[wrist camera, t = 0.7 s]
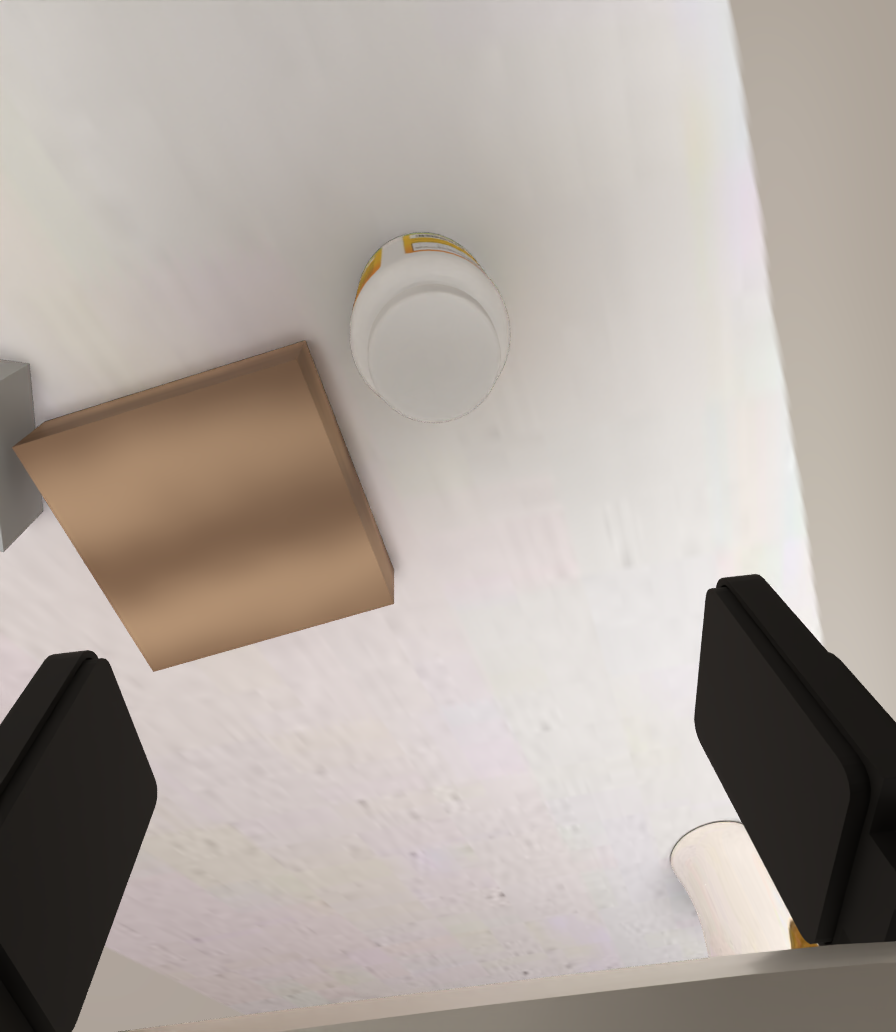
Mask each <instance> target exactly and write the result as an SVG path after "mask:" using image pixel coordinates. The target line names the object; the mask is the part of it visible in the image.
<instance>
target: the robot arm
mask: <svg viewBox="0 0 896 1032" xmlns="http://www.w3.org/2000/svg"><path fill="white" fill-rule="evenodd" d="M694 722H695V729H696V733H697V736H698V739H699V741H700V743H701V745H702V747H703V749H704V751H705V753H706V755H707V757H708V759H709V760H710V762H711V764H712V766H713V768H714V770H715V772H716V774H717V776H718V778H719V780H720V782H721V783H722V785H723V787H724V789H725V791H726V793H727V795H728V797H729V799H730V801H731V803H732V804H733V806H734V808H735V810H736V812H737V814H738V816H739V818H740V820H741V822H742V824H743V826H744V827H745V829H746V831H747V833H748V835H749V837H750V839H751V841H752V843H753V845H754V847H755V848H756V850H757V852H758V854H759V856H760V858H761V860H762V862H763V864H764V866H765V868H766V869H767V871H768V873H769V875H770V877H771V879H772V881H773V883H774V885H775V887H776V889H777V891H778V892H779V894H780V896H781V898H782V900H783V902H784V904H785V906H786V908H787V910H788V912H789V913H790V915H791V917H792V919H793V921H794V923H795V925H796V927H797V929H798V931H799V932H800V934H801V936H802V937H803V938H804V940H805V941H806V942H807V943H809V944H816V943H818V945H819V946H817V947H807V948H797V949H788V950H778V951H768V952H758V953H748V954H738V955H728V956H719V957H710V958H701V959H693V960H685V961H676V962H668V963H660V964H651V965H643V966H635V967H626V968H618V969H610V970H601V971H593V972H585V973H576V974H568V975H560V976H551V977H543V978H534V979H526V980H518V981H510V982H502V983H494V984H486V985H478V986H470V987H462V988H454V989H446V990H438V991H430V992H422V993H414V994H406V995H398V996H390V997H382V998H374V999H366V1000H358V1001H351V1002H343V1003H335V1004H327V1005H319V1006H311V1007H303V1008H295V1009H287V1010H280V1011H272V1012H265V1013H257V1014H249V1015H242V1016H234V1017H227V1018H219V1019H211V1020H204V1021H196V1022H189V1023H181V1024H174V1025H166V1026H158V1027H150V1028H143V1029H135V1030H128V1031H120V1032H896V722H895V721H894V720H893V719H892V718H891V717H890V715H889V714H888V713H887V712H886V711H885V710H884V709H883V707H882V706H881V705H880V704H879V703H878V702H877V701H876V700H875V698H874V697H873V696H872V695H871V694H870V693H869V692H868V691H867V689H866V688H865V687H864V686H863V685H862V684H861V683H860V682H859V680H858V679H857V678H856V677H855V676H854V675H853V674H852V673H851V671H850V670H849V669H848V668H847V667H846V666H845V665H844V663H843V662H842V661H841V660H840V659H839V658H837V657H836V656H835V655H834V654H832V653H829V652H828V651H827V650H826V649H825V648H824V647H823V646H822V645H821V643H820V642H819V641H818V640H817V639H816V638H815V637H814V635H813V634H812V633H811V632H810V631H809V630H808V629H807V627H806V626H805V625H804V624H803V623H802V622H801V621H800V619H799V618H798V617H797V616H796V615H795V614H794V613H793V611H792V610H791V609H790V608H789V607H788V606H787V605H786V603H785V602H784V601H783V600H782V599H781V598H780V597H779V595H778V594H777V593H776V592H775V591H774V590H773V589H772V587H771V586H770V585H769V584H768V583H767V582H766V581H765V579H764V578H763V577H761V576H760V575H757V574H752V575H743V576H735V577H726V578H721V579H719V581H718V583H717V586H716V588H711V589H709V590H708V591H707V593H706V600H705V610H704V621H703V631H702V642H701V652H700V663H699V673H698V684H697V694H696V705H695V715H694ZM156 801H157V784H156V781H155V778H154V775H153V773H152V770H151V768H150V765H149V762H148V760H147V757H146V755H145V752H144V750H143V747H142V745H141V742H140V739H139V737H138V734H137V732H136V729H135V727H134V724H133V722H132V719H131V717H130V714H129V711H128V709H127V706H126V704H125V701H124V699H123V696H122V694H121V691H120V689H119V686H118V683H117V681H116V678H115V676H114V673H113V671H112V668H111V666H110V664H109V662H108V661H107V660H106V659H104V658H100V659H98V657H97V655H96V654H95V653H94V652H93V651H89V650H87V651H78V652H69V653H61V654H53V655H50V656H48V657H47V658H46V659H45V661H44V662H43V663H42V665H41V666H40V668H39V669H38V671H37V672H36V674H35V675H34V677H33V678H32V679H31V681H30V682H29V684H28V685H27V687H26V688H25V690H24V691H23V692H22V694H21V695H20V697H19V698H18V700H17V701H16V703H15V704H14V706H13V707H12V708H11V710H10V711H9V713H8V714H7V716H6V717H5V719H4V720H3V721H2V723H1V724H0V1032H72V1030H73V1029H74V1027H75V1024H76V1022H77V1020H78V1017H79V1014H80V1011H81V1009H82V1005H83V1003H84V1000H85V998H86V995H87V992H88V989H89V987H90V984H91V981H92V978H93V975H94V973H95V970H96V967H97V965H98V962H99V959H100V956H101V954H102V951H103V948H104V946H105V943H106V940H107V937H108V935H109V932H110V929H111V926H112V924H113V921H114V918H115V915H116V913H117V910H118V907H119V904H120V902H121V899H122V896H123V893H124V891H125V888H126V885H127V882H128V880H129V877H130V874H131V871H132V869H133V866H134V863H135V861H136V858H137V855H138V852H139V850H140V847H141V844H142V841H143V839H144V836H145V833H146V830H147V828H148V825H149V822H150V819H151V817H152V814H153V811H154V808H155V805H156Z"/></svg>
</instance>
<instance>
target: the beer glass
mask: <svg viewBox="0 0 896 1032" xmlns="http://www.w3.org/2000/svg"><path fill="white" fill-rule="evenodd" d="M671 866H672V869H673V871H674V873H675V875H676V876H677V878H678V879H679V881H680V882H681V884H682V885H683V887H684V889H685V890H686V892H687V893H688V895H689V897H690V899H691V901H692V903H693V905H694V907H695V910H696V912H697V915H698V918H699V921H700V924H701V927H702V931H703V935H704V939H705V943H706V948H707V952H708V957H709V958H710V957H719V956H728V955H738V954H748V953H758V952H768V951H778V950H788V949H797V948H807V947H817V946H819V945H818V943H816V944H809V943H807V942H806V941H805V940H804V938H803V937H802V936H801V934H800V932H799V931H798V929H797V927H796V925H795V923H794V921H793V919H792V917H791V915H790V913H789V912H788V910H787V908H786V906H785V904H784V902H783V900H782V898H781V896H780V894H779V892H778V891H777V889H776V887H775V885H774V883H773V881H772V879H771V877H770V875H769V873H768V871H767V869H766V868H765V866H764V864H763V862H762V860H761V858H760V856H759V854H758V852H757V850H756V848H755V847H754V845H753V843H752V841H751V839H750V837H749V835H748V833H747V831H746V829H745V827H744V826H743V824H740V823H736V822H716V823H711V824H707V825H704V826H701V827H699V828H697V829H695V830H693V831H691V832H690V833H688V834H687V835H685V836H684V837H683V838H682V839H681V840H680V841H679V842H678V843H677V845H676V846H675V848H674V849H673V852H672V854H671Z"/></svg>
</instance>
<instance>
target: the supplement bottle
mask: <svg viewBox="0 0 896 1032" xmlns="http://www.w3.org/2000/svg"><path fill="white" fill-rule="evenodd" d="M350 345H351V351H352V355H353V358H354V362H355V364H356V367H357V369H358V371H359V373H360V375H361V376H362V378H363V379H364V381H365V382H366V383H367V385H368V386H369V387H370V388H371V389H372V390H373V391H374V392H375V393H376V394H377V395H378V396H379V397H381V398H382V399H383V400H384V401H385V402H386V403H387V404H388V405H389V406H390V407H391V408H392V409H394V410H395V411H397V412H398V413H400V414H402V415H403V416H406V417H408V418H410V419H413V420H417V421H421V422H429V423H440V422H447V421H451V420H454V419H457V418H460V417H462V416H464V415H466V414H468V413H469V412H471V411H472V410H474V409H475V408H476V407H478V406H479V405H480V404H481V403H482V402H483V401H484V399H485V398H486V397H487V396H488V394H489V393H490V391H491V390H492V388H493V386H494V384H495V382H496V380H497V378H498V377H499V375H500V373H501V371H502V369H503V367H504V365H505V362H506V359H507V356H508V351H509V345H510V323H509V318H508V314H507V310H506V307H505V304H504V302H503V299H502V297H501V295H500V293H499V291H498V289H497V288H496V287H495V285H494V284H493V282H492V281H491V280H490V278H489V277H488V276H487V275H486V273H485V272H484V271H483V269H482V268H481V267H480V266H479V264H478V263H477V262H476V260H475V259H474V258H473V257H472V255H471V254H470V253H469V252H468V251H466V250H465V249H464V248H463V247H462V246H460V245H459V244H458V243H456V242H454V241H453V240H451V239H449V238H447V237H444V236H441V235H438V234H433V233H424V232H419V233H410V234H406V235H402V236H400V237H397V238H395V239H393V240H391V241H389V242H388V243H386V244H385V245H383V246H382V247H381V248H380V249H379V250H378V251H377V252H376V253H375V254H374V255H373V257H372V258H371V259H370V261H369V262H368V264H367V265H366V267H365V269H364V271H363V273H362V276H361V279H360V281H359V286H358V290H357V294H356V298H355V302H354V305H353V310H352V315H351V320H350Z"/></svg>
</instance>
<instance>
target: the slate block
mask: <svg viewBox="0 0 896 1032" xmlns="http://www.w3.org/2000/svg"><path fill="white" fill-rule="evenodd" d="M35 429H36V428H35V418H34V407H33V396H32V386H31V375H30V364H29V363H22V362H15V361H7V360H0V552H4V551H5V550H6V549H7V548H8V547H9V546H10V545H11V544H12V543H13V542H14V541H15V540H16V539H17V538H18V537H19V536H20V535H21V534H22V533H23V532H24V531H25V530H26V529H27V527H28V526H29V525H30V524H31V523H32V522H33V521H34V520H35V519H36V518H37V517H38V516H39V515H40V514H41V513H42V512H43V503H42V494H41V493H40V491H39V490H38V488H37V487H36V485H35V483H34V482H33V480H32V479H31V477H30V475H29V474H28V472H27V471H26V469H25V468H24V466H23V464H22V463H21V461H20V460H19V458H18V456H17V455H16V453H15V452H14V450H13V448H12V447H13V446H14V445H15V444H17V443H18V442H19V441H21V440H22V439H23V438H24V437H26V436H27V435H28V434H30V433H31V432H32V431H33V430H35Z"/></svg>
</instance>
